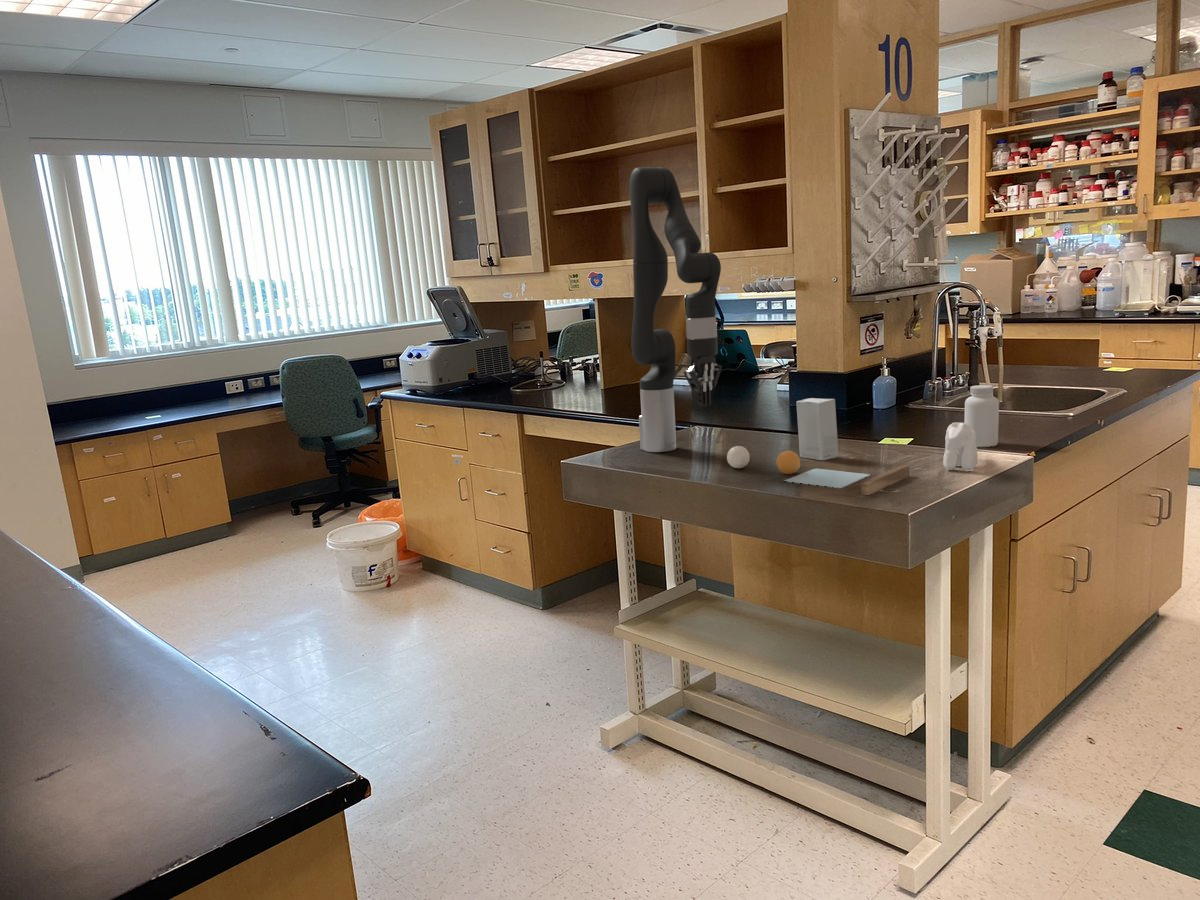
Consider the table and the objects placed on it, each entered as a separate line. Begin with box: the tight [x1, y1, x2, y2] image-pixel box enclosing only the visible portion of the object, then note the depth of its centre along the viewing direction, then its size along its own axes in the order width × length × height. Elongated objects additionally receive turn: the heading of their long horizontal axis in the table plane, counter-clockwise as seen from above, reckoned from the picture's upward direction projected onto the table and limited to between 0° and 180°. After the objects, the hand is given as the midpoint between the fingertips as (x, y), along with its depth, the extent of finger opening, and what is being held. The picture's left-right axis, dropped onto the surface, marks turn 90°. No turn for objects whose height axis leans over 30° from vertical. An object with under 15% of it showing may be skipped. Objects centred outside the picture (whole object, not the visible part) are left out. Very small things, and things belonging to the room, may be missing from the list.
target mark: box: [784, 468, 872, 489], centre depth 197 cm, size 14×14×1 cm
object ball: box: [775, 450, 801, 475], centre depth 204 cm, size 6×6×6 cm
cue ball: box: [726, 445, 751, 469], centre depth 213 cm, size 6×6×6 cm
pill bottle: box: [963, 384, 1000, 448], centre depth 221 cm, size 8×8×15 cm
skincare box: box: [795, 397, 839, 461], centre depth 218 cm, size 8×6×15 cm
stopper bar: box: [860, 464, 910, 496], centre depth 188 cm, size 2×20×2 cm, turn 137°
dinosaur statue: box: [942, 422, 978, 471], centre depth 199 cm, size 7×24×11 cm, turn 145°
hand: (704, 405), depth 217 cm, fingers closed
